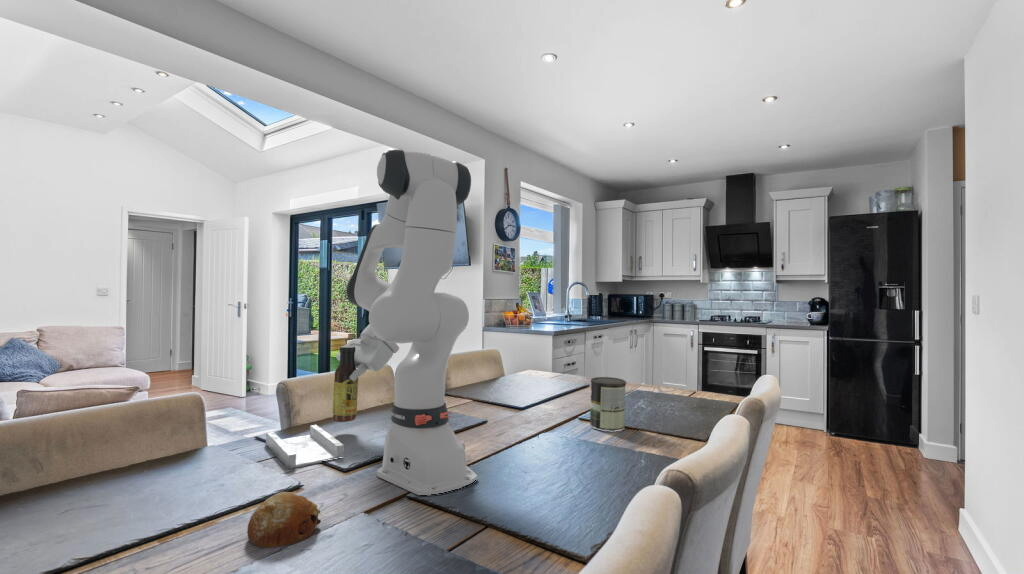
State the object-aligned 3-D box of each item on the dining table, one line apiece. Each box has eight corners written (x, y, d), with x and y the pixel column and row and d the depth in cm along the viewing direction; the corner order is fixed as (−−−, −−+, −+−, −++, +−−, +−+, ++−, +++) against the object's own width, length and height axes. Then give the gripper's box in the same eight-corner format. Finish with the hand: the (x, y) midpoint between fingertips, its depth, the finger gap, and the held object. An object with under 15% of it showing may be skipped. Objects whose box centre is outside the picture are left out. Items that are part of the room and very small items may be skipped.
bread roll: (276, 538, 81) (256, 496, 81) (332, 512, 82) (313, 470, 82) (249, 573, 71) (227, 525, 71) (313, 542, 72) (291, 495, 72)
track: (343, 457, 110) (343, 444, 110) (288, 469, 102) (288, 455, 102) (315, 435, 125) (316, 424, 125) (265, 444, 118) (266, 432, 118)
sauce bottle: (348, 424, 125) (351, 348, 125) (327, 422, 126) (329, 347, 126) (361, 417, 131) (363, 345, 131) (341, 415, 133) (343, 344, 133)
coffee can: (583, 427, 140) (584, 380, 140) (598, 420, 149) (600, 375, 149) (616, 434, 134) (617, 385, 134) (630, 427, 143) (631, 380, 143)
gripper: (351, 329, 141) (318, 366, 134) (389, 333, 127) (354, 374, 120) (364, 343, 145) (333, 380, 137) (403, 349, 130) (370, 389, 123)
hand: (343, 377), depth 128 cm, fingers closed on sauce bottle, 6 cm apart
